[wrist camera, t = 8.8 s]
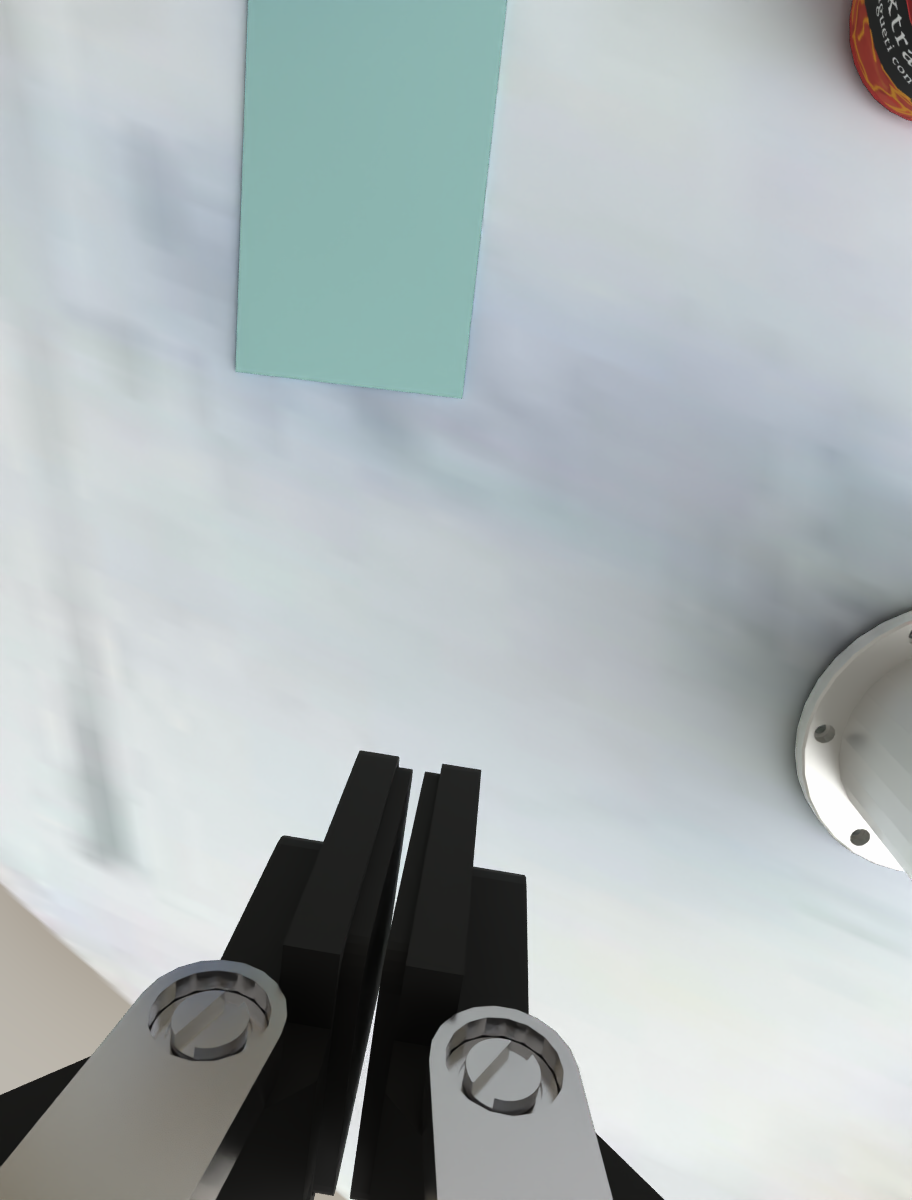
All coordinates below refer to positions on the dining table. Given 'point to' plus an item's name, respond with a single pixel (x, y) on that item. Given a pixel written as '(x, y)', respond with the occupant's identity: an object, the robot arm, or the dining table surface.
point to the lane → (365, 188)
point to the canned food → (884, 51)
